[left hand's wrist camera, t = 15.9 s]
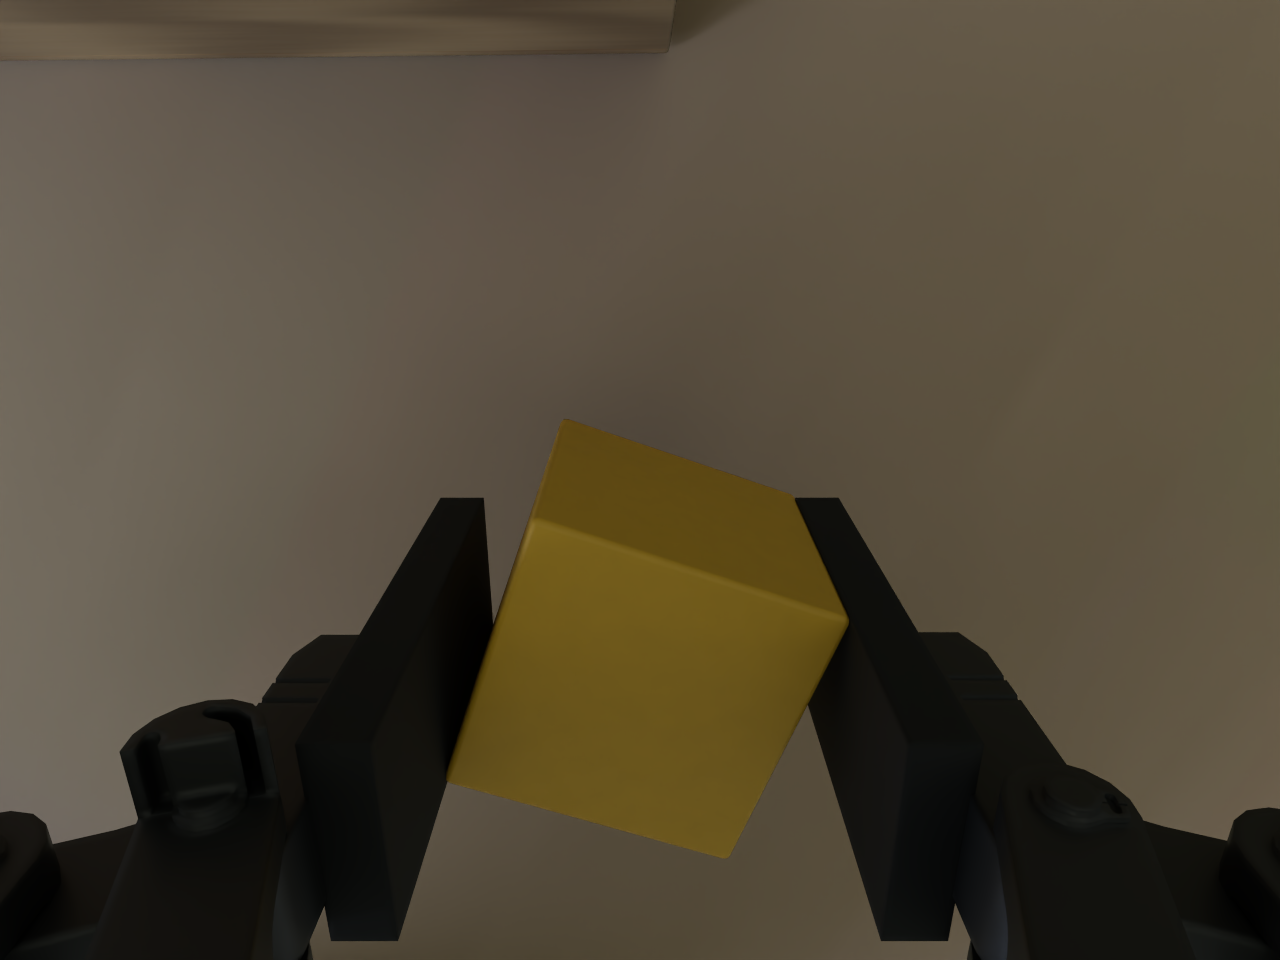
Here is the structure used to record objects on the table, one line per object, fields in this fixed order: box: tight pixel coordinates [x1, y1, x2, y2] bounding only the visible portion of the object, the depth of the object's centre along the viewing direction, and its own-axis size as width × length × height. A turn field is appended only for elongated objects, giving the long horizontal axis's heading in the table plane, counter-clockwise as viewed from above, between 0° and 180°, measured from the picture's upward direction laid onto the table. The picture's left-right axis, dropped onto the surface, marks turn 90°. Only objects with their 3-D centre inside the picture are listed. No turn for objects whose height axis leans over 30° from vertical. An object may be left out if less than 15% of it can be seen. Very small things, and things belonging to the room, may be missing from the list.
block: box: [446, 419, 849, 859], centre depth 13 cm, size 4×4×4 cm
